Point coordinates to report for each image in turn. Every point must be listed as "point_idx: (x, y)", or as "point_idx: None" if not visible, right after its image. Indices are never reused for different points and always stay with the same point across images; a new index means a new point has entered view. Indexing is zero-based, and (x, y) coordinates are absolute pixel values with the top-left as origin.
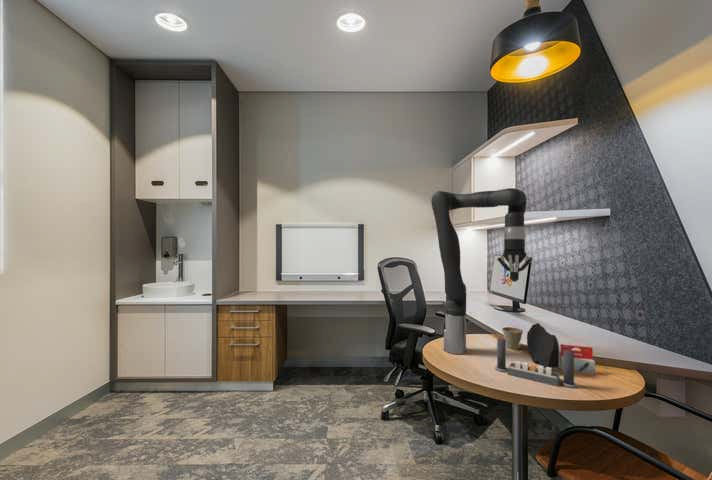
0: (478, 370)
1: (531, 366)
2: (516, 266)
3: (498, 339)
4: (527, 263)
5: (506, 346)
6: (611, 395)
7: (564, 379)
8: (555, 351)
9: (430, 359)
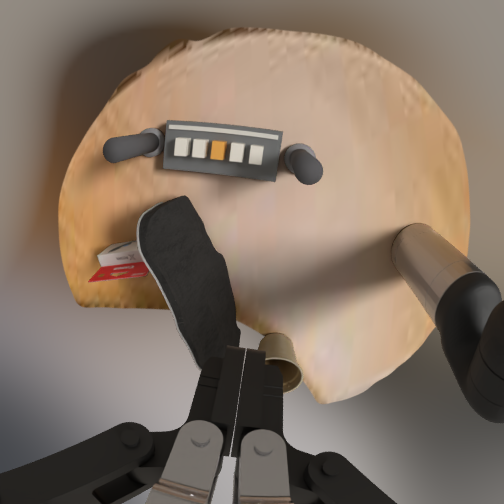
0: (354, 126)
1: (221, 141)
2: (184, 489)
3: (318, 165)
4: (28, 475)
5: (290, 339)
6: (90, 139)
7: (154, 137)
8: (154, 209)
9: (462, 156)
